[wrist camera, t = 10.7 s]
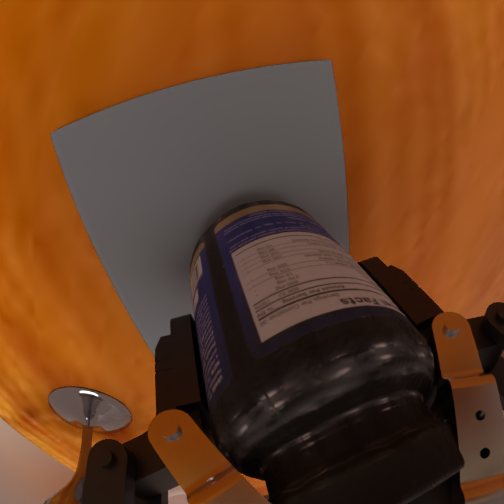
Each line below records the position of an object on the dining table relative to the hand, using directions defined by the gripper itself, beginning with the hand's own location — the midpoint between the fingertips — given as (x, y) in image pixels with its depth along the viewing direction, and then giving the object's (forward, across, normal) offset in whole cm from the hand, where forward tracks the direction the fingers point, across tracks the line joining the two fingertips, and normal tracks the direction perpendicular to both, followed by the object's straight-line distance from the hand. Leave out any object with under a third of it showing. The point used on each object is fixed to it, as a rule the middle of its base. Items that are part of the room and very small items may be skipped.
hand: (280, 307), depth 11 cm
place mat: (+5, +1, +1) cm, 5 cm away
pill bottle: (+3, 0, 0) cm, 3 cm away
